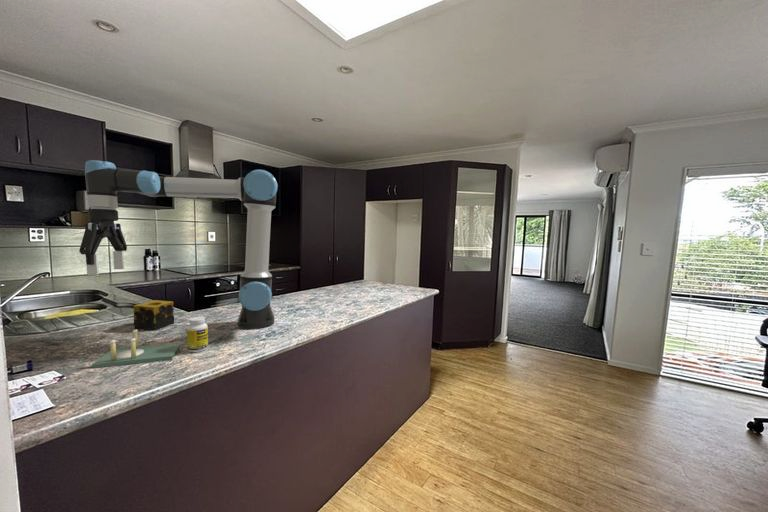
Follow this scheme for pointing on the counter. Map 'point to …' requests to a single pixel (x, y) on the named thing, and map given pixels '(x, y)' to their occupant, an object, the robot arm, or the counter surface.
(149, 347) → the header board
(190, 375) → the counter surface
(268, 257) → the robot arm
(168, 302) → the yellow-topped dark cube
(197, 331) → the pill bottle
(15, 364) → the counter surface
